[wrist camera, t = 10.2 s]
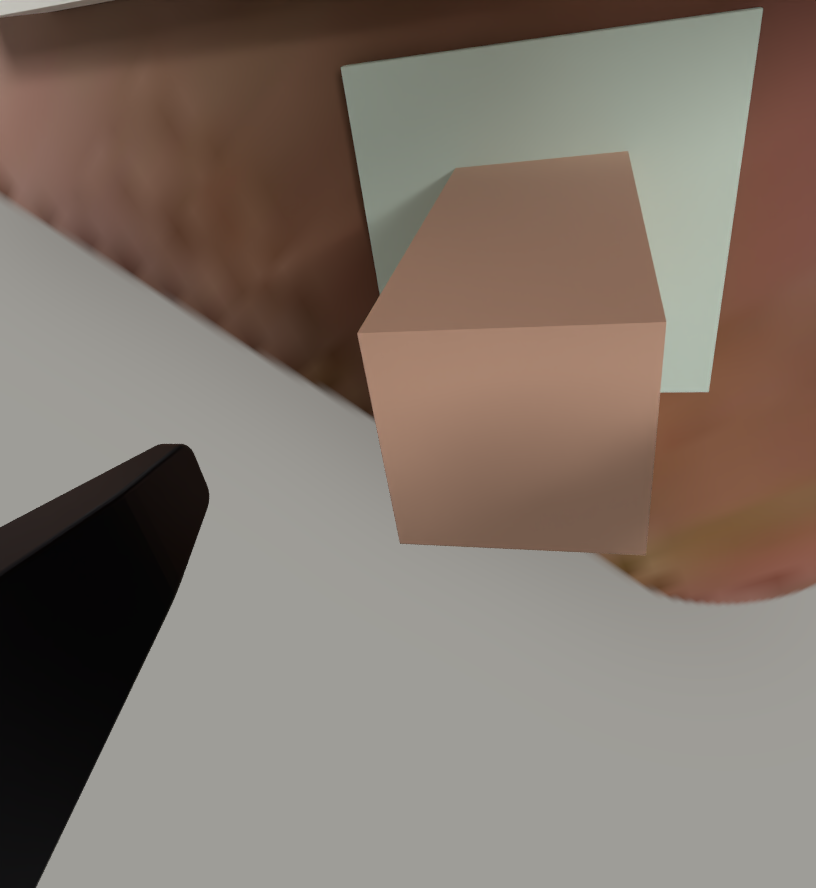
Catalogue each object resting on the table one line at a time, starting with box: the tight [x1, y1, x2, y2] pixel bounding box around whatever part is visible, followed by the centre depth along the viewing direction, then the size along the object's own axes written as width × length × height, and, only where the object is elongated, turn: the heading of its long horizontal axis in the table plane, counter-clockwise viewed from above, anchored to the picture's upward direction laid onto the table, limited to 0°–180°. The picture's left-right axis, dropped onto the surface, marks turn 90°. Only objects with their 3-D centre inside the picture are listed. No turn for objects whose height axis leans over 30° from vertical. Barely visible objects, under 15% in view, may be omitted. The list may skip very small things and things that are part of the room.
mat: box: [341, 7, 763, 392], centre depth 19 cm, size 10×10×1 cm
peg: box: [357, 151, 666, 555], centre depth 15 cm, size 4×4×10 cm
